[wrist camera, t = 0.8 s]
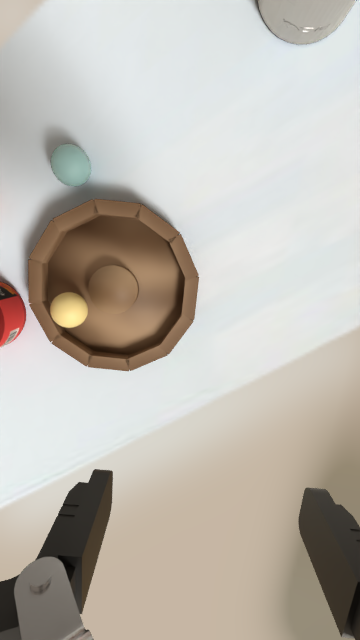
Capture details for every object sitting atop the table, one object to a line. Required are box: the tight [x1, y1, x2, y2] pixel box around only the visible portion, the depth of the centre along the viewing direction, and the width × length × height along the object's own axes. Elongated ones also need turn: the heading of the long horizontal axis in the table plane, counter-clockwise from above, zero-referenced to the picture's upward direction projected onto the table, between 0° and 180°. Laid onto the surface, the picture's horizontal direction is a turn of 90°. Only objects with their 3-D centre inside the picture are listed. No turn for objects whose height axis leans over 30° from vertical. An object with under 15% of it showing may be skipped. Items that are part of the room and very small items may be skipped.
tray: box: [28, 199, 199, 371], centre depth 33 cm, size 18×18×3 cm
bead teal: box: [51, 144, 91, 186], centre depth 30 cm, size 4×4×4 cm
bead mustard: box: [50, 292, 88, 328], centre depth 32 cm, size 4×4×4 cm
